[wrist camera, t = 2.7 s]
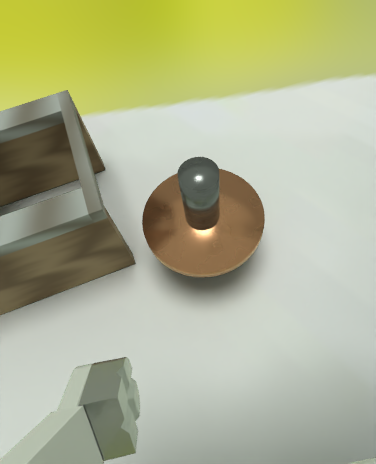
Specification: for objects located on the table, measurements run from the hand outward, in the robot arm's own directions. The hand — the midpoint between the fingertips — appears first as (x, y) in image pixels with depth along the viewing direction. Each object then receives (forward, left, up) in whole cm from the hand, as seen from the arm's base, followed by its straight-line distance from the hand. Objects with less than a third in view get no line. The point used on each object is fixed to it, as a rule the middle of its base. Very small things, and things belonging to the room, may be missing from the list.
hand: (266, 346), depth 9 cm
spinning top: (-2, -12, -18) cm, 22 cm away
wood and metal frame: (+14, -20, -18) cm, 30 cm away
